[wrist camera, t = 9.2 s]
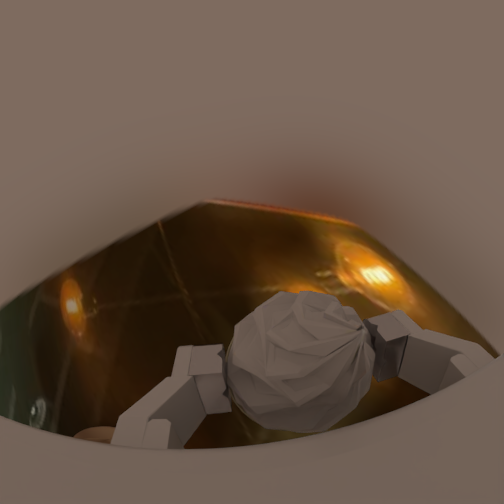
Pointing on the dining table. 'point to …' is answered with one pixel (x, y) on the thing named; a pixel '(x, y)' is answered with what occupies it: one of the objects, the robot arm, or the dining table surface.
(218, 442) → the dining table surface
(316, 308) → the ice cream cone
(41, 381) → the dining table surface
